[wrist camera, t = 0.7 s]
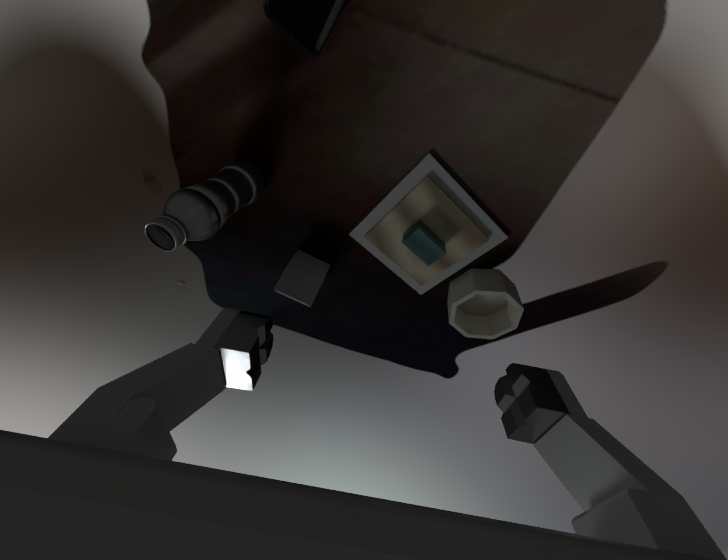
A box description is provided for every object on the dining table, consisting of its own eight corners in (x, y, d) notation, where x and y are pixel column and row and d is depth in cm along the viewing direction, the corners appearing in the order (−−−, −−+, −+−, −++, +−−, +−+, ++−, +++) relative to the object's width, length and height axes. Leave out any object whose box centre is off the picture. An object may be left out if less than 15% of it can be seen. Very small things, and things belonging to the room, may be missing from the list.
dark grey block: (298, 249, 53) (276, 282, 46) (330, 265, 54) (314, 299, 47) (293, 263, 56) (271, 296, 48) (324, 277, 57) (307, 312, 49)
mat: (429, 152, 39) (429, 153, 38) (507, 235, 44) (508, 237, 44) (349, 232, 49) (348, 234, 48) (421, 292, 54) (420, 294, 54)
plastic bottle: (224, 175, 47) (123, 234, 31) (244, 146, 43) (140, 196, 28) (256, 204, 49) (176, 272, 34) (277, 178, 45) (198, 241, 30)
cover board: (427, 174, 40) (427, 183, 37) (488, 237, 44) (492, 250, 41) (365, 234, 48) (360, 246, 45) (421, 283, 52) (421, 296, 49)
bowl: (487, 257, 47) (493, 279, 42) (525, 295, 50) (535, 320, 46) (436, 290, 53) (436, 313, 49) (473, 322, 56) (476, 346, 52)
